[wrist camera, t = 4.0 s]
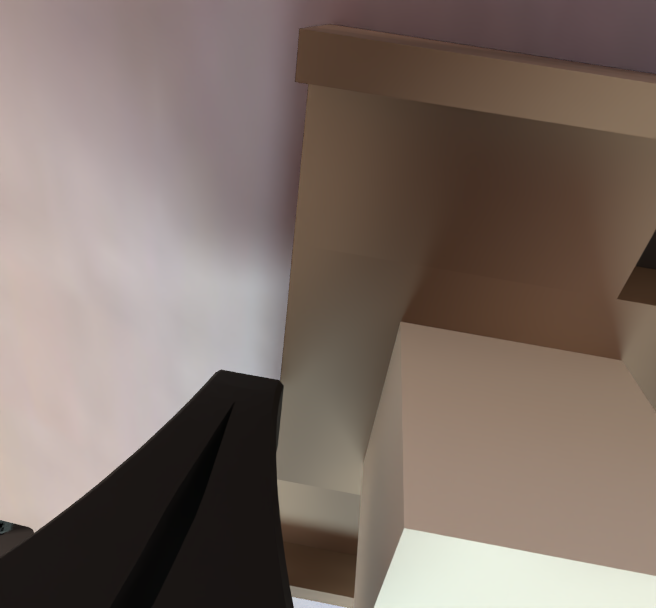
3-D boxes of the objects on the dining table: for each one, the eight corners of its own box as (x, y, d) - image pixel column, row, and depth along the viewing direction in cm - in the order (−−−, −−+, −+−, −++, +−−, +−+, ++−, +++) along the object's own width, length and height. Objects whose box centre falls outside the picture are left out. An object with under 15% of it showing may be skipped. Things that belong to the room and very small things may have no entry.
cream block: (621, 360, 9) (778, 599, 5) (538, 495, 11) (606, 726, 8) (400, 321, 9) (403, 527, 6) (363, 462, 12) (348, 673, 8)
